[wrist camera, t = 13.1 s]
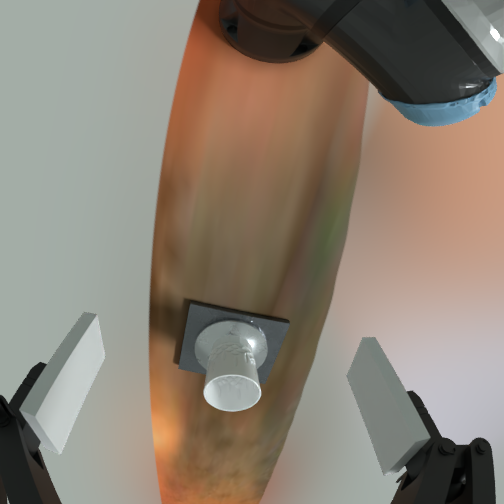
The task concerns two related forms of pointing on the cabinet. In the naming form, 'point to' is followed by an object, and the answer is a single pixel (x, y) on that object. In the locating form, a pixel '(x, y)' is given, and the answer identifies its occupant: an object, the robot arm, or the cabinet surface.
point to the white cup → (232, 375)
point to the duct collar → (230, 323)
